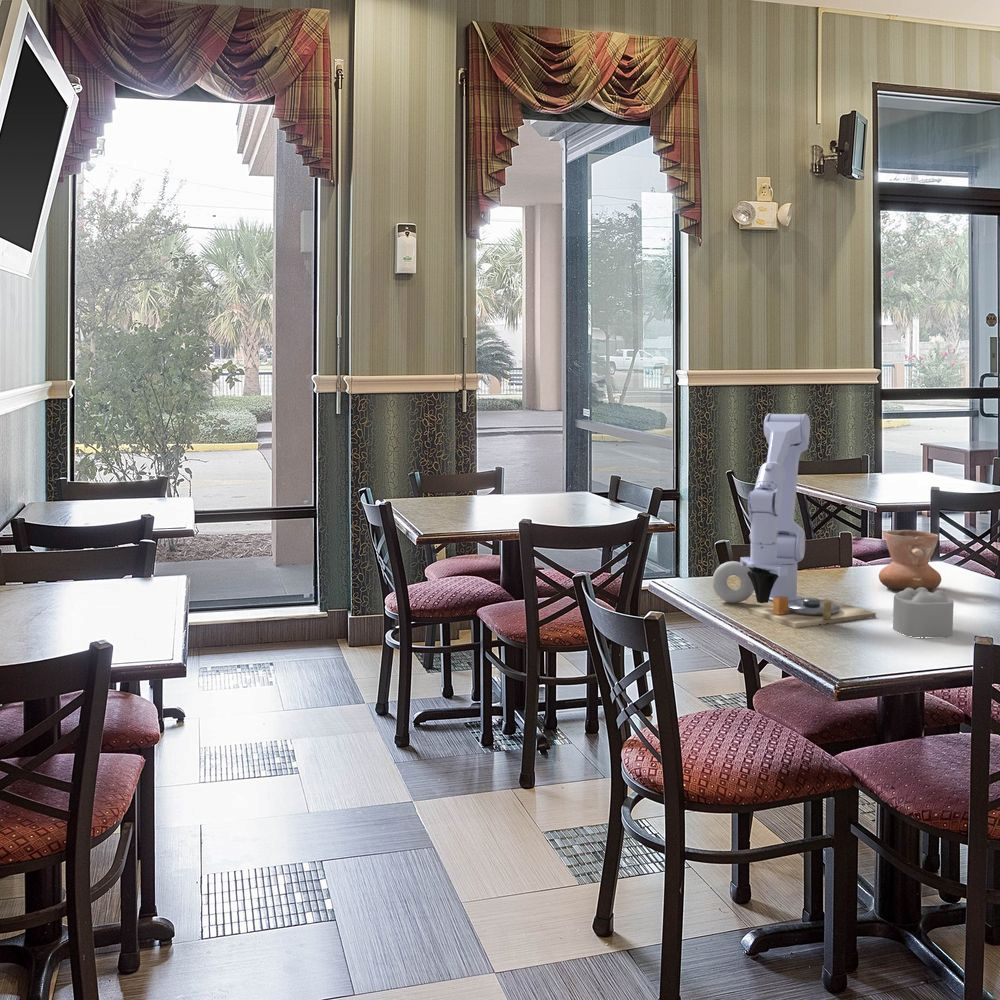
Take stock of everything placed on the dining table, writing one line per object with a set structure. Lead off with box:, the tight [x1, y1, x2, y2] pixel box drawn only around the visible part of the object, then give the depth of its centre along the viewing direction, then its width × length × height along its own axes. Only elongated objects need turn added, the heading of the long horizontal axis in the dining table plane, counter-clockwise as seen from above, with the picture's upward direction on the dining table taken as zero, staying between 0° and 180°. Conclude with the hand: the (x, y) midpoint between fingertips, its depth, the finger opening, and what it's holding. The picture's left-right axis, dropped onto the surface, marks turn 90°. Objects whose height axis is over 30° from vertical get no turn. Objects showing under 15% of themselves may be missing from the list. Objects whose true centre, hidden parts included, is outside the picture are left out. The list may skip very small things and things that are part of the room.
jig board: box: [748, 598, 877, 629], centre depth 238 cm, size 17×22×5 cm
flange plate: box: [772, 596, 840, 615], centre depth 238 cm, size 12×16×4 cm
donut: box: [711, 560, 755, 604], centre depth 252 cm, size 10×4×10 cm, turn 69°
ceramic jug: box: [878, 529, 942, 592], centre depth 265 cm, size 18×14×14 cm
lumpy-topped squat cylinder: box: [892, 587, 955, 639], centre depth 224 cm, size 10×13×9 cm
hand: (762, 602), depth 241 cm, fingers closed
